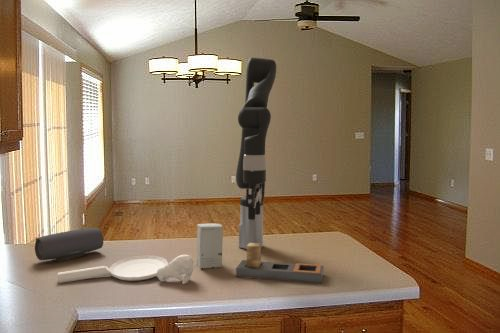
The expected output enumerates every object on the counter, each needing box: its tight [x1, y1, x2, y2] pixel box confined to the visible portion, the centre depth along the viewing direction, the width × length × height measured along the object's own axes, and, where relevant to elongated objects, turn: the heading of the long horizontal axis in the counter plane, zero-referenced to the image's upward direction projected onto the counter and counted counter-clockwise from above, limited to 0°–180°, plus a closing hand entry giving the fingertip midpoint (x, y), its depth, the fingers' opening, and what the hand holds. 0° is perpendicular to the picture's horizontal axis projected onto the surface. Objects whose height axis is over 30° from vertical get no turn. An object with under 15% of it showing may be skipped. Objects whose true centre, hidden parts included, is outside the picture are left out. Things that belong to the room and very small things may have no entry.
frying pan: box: [57, 254, 169, 284], centre depth 156 cm, size 35×19×5 cm, turn 111°
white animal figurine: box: [156, 254, 194, 285], centre depth 151 cm, size 6×8×12 cm
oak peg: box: [246, 243, 262, 268], centre depth 158 cm, size 4×4×10 cm
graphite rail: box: [235, 259, 325, 284], centre depth 157 cm, size 28×9×3 cm, turn 77°
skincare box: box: [196, 222, 224, 270], centre depth 166 cm, size 8×6×15 cm
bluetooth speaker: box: [34, 227, 104, 261], centre depth 176 cm, size 23×9×10 cm, turn 135°
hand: (254, 216), depth 157 cm, fingers open, 8 cm apart
